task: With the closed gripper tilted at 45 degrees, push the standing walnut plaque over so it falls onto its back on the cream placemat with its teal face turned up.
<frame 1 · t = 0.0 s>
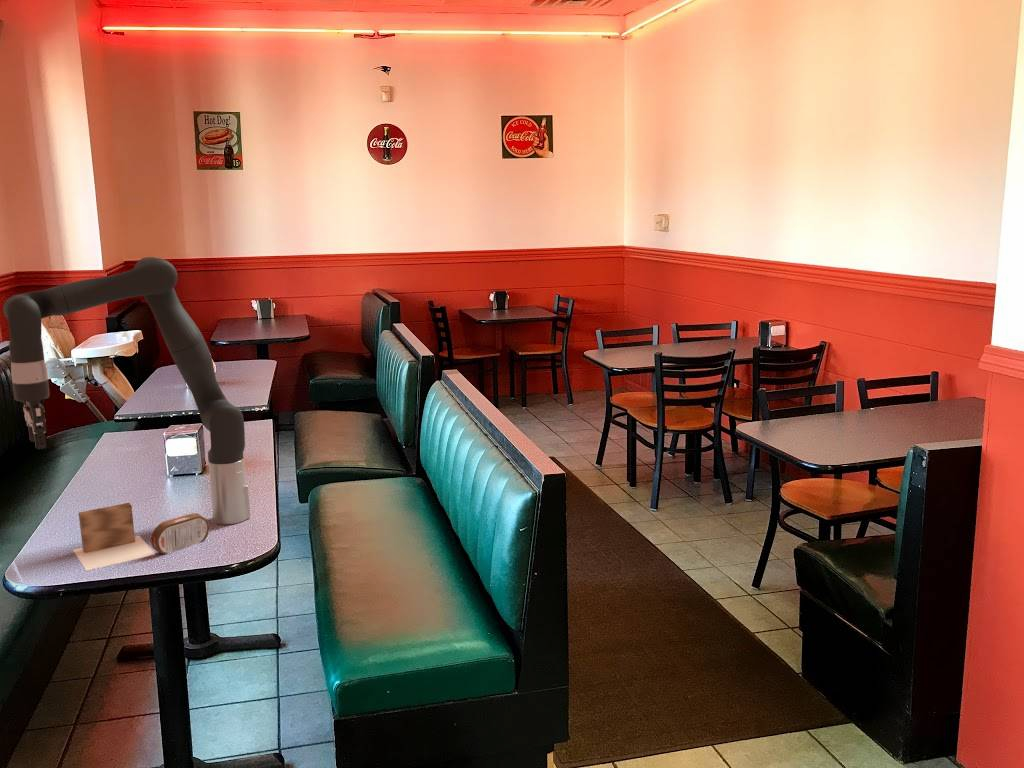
hand: (38, 444, 216), 29 cm above the table, tool pointing down, fingers open, 8 cm apart
placemat: (114, 554, 224), on the table
plaque: (109, 546, 228), point 1 cm above the table, touching placemat
tin: (182, 550, 227), on the table
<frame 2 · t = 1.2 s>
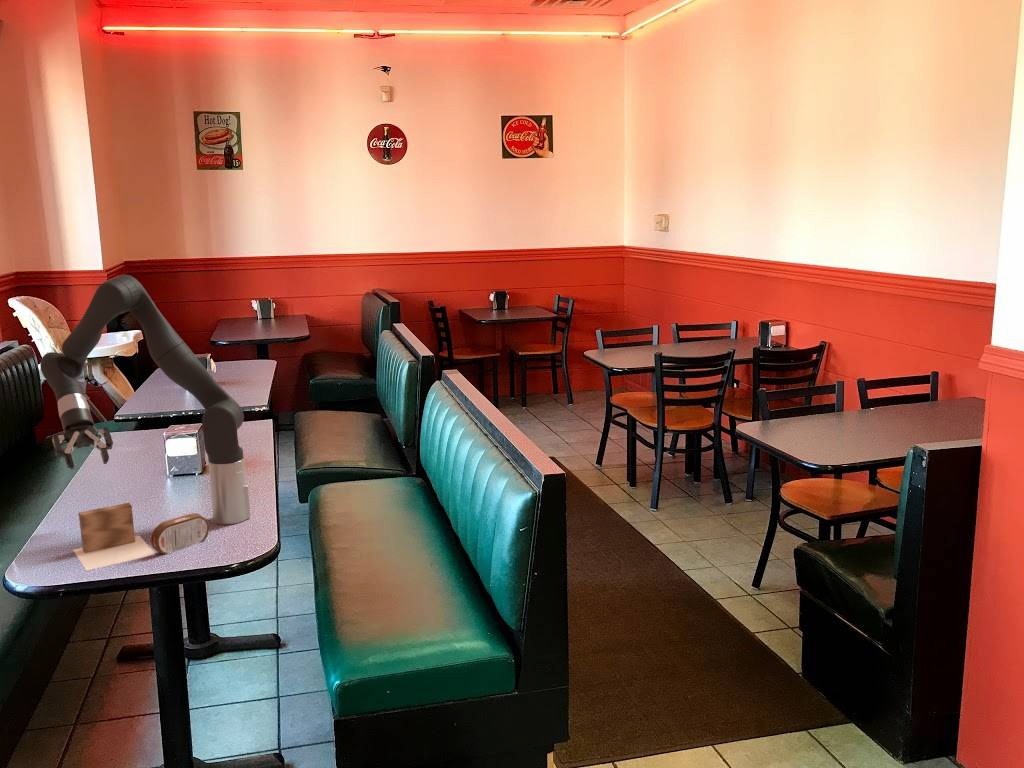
hand: (89, 465, 235), 19 cm above the table, tool tilted 45°, fingers open, 7 cm apart
nothing on the table moved.
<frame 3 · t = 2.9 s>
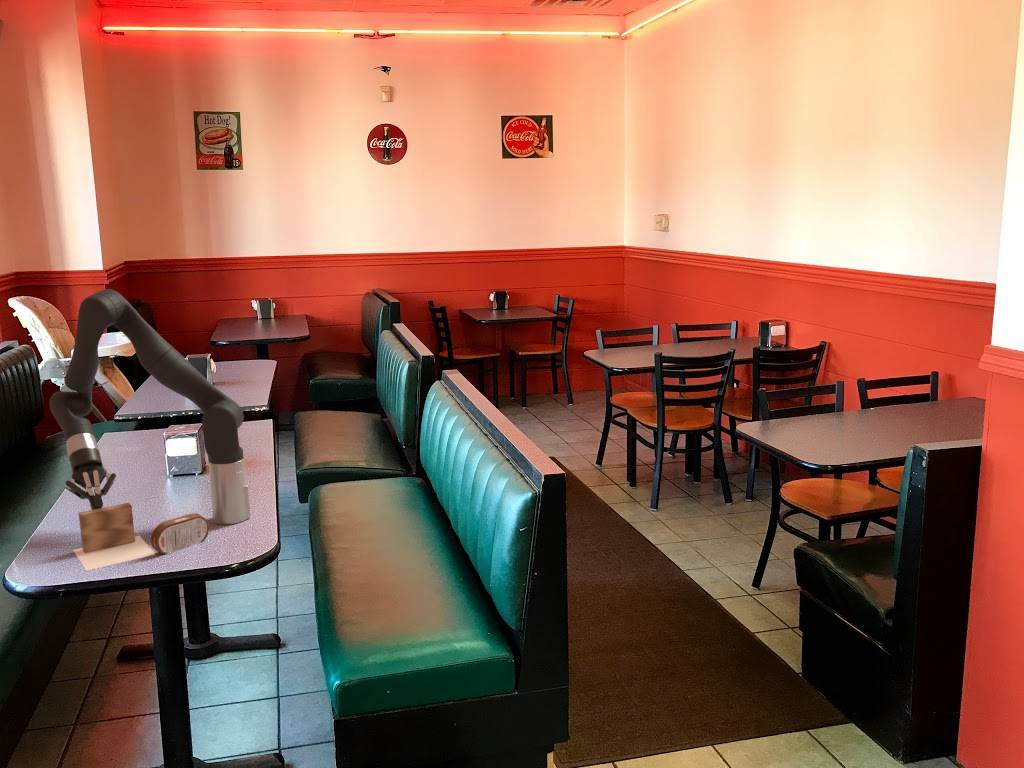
hand: (98, 509, 233), 8 cm above the table, tool tilted 45°, fingers closed
nothing on the table moved.
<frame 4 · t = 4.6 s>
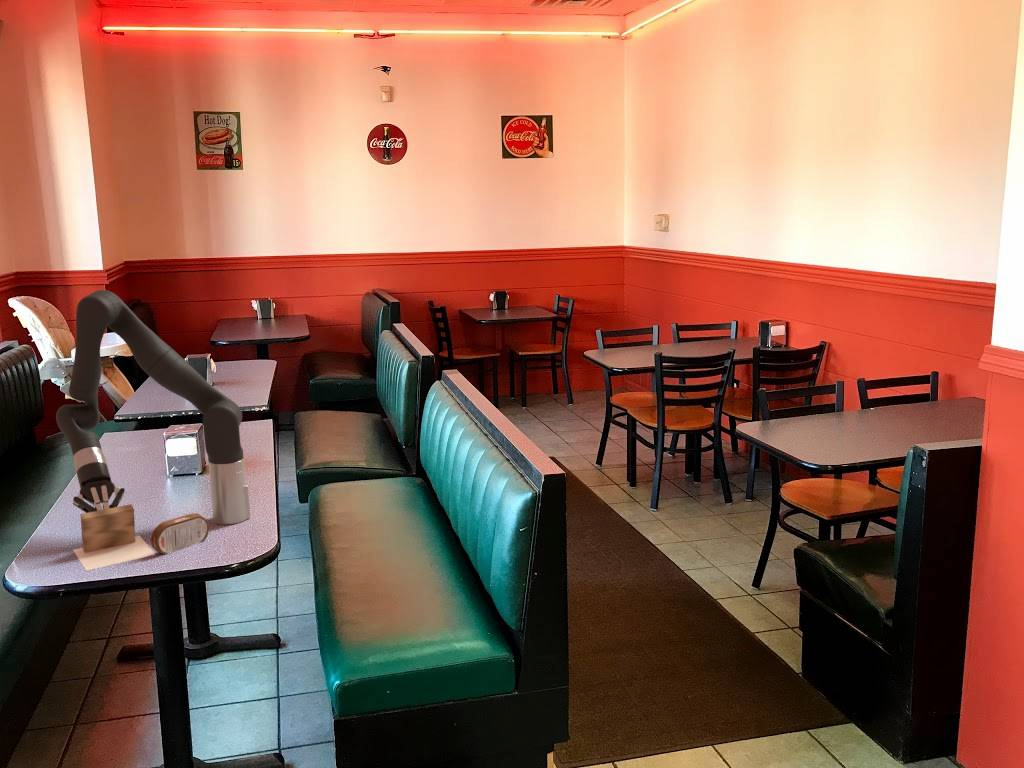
hand: (106, 525, 227), 6 cm above the table, tool tilted 45°, fingers closed
plaque: (109, 544, 227), point 1 cm above the table, tilted 14°, touching gripper, placemat
everything else where it was.
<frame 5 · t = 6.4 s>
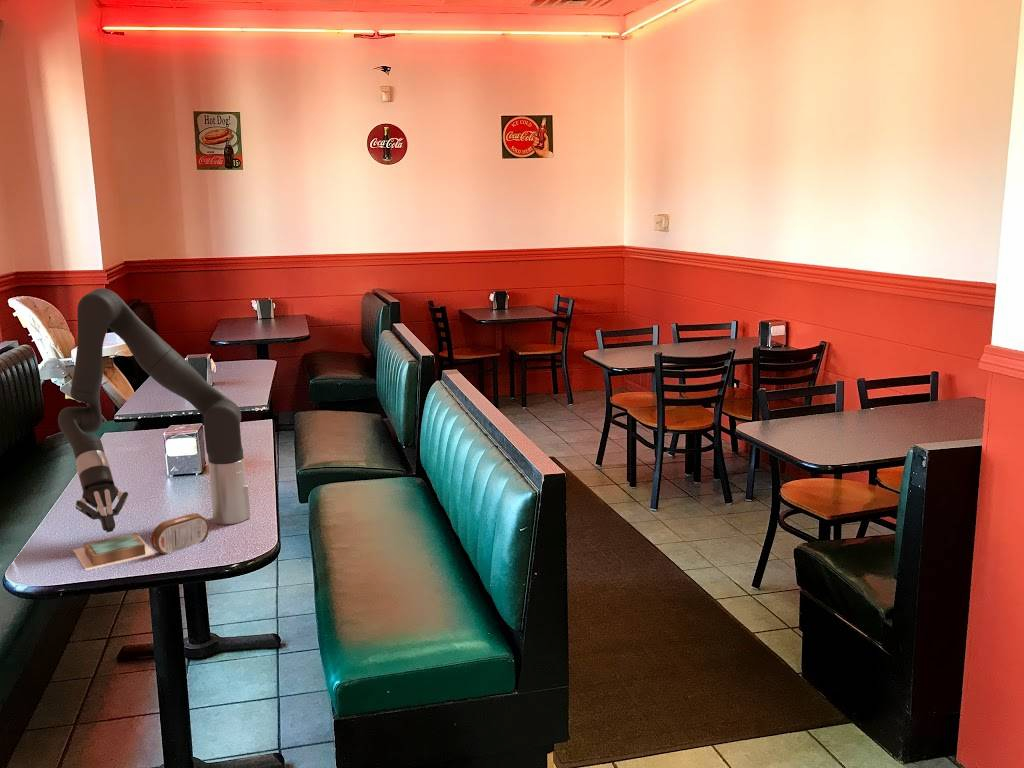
hand: (110, 530, 224), 6 cm above the table, tool tilted 45°, fingers closed
plaque: (110, 543, 226), point 2 cm above the table, tilted 90°, touching placemat
everything else where it was.
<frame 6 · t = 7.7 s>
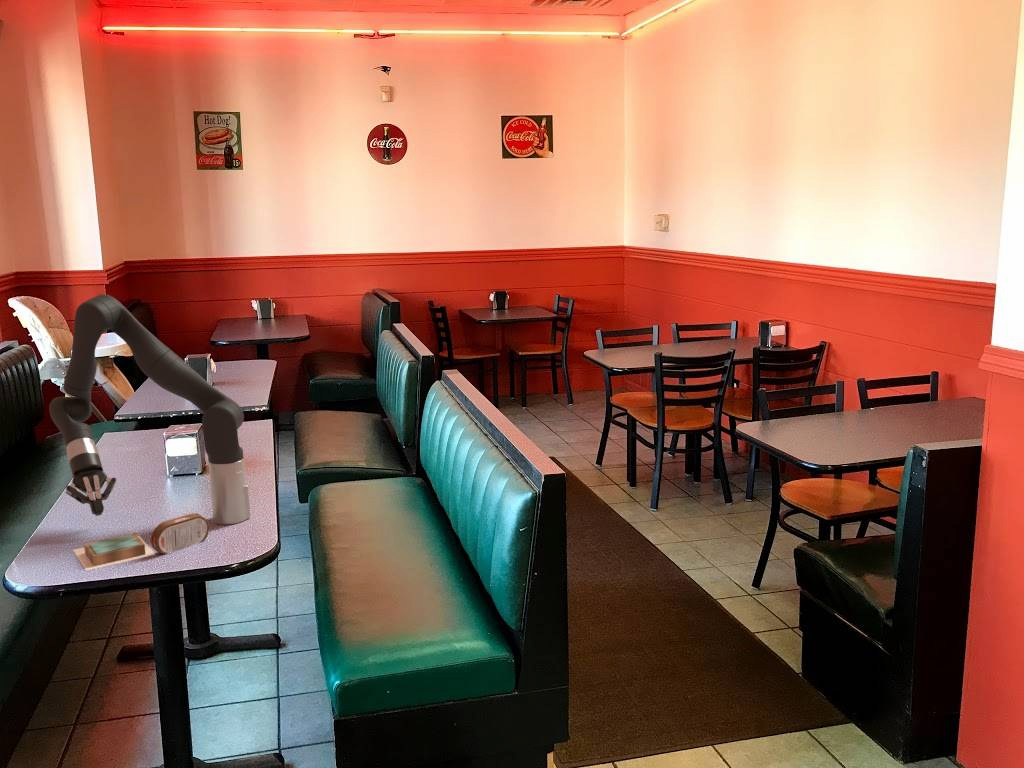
hand: (98, 514, 234), 6 cm above the table, tool tilted 45°, fingers closed
nothing on the table moved.
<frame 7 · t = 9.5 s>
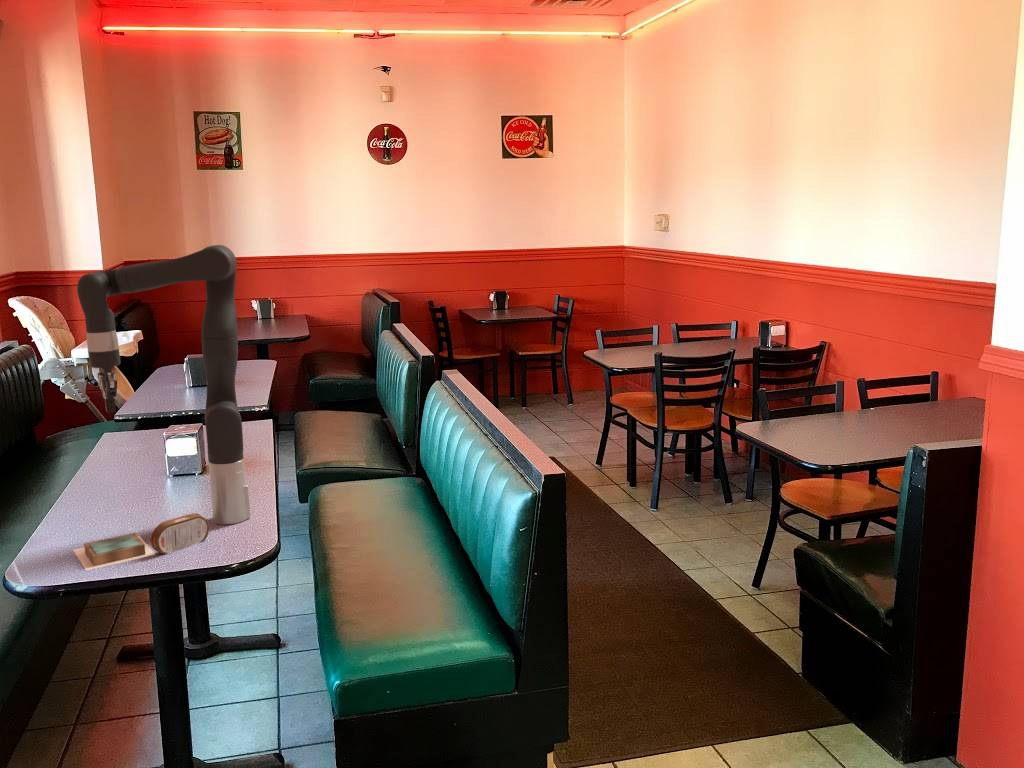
hand: (111, 411, 239), 32 cm above the table, tool pointing down, fingers closed
nothing on the table moved.
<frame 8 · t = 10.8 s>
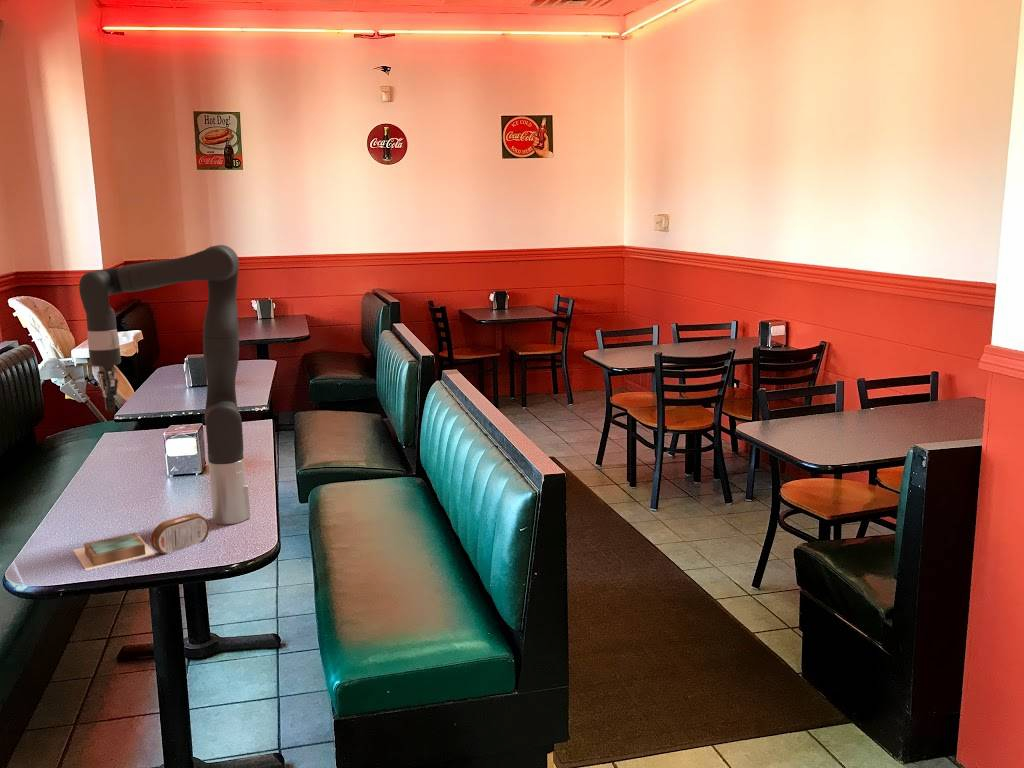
hand: (110, 410, 239), 32 cm above the table, tool pointing down, fingers closed
nothing on the table moved.
at the end: plaque tilted 90°; plaque touching placemat; plaque inside the target area on the placemat (3.1 cm from its centre), point 1.8 cm above the placemat's base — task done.
